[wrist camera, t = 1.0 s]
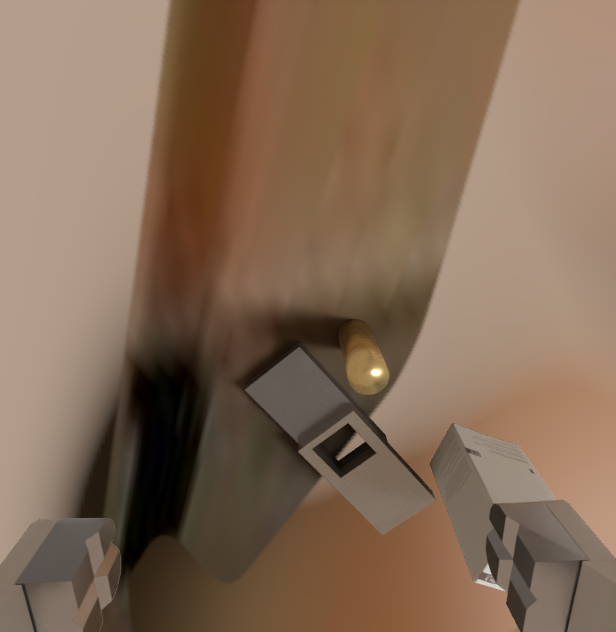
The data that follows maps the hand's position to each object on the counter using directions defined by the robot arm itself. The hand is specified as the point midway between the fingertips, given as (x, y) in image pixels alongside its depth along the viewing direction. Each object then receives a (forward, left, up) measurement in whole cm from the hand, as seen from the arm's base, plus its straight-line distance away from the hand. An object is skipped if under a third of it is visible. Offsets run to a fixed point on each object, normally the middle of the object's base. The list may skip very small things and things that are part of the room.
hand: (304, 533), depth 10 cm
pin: (+1, +10, -33) cm, 34 cm away
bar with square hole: (+9, +18, -33) cm, 38 cm away
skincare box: (0, +29, -33) cm, 44 cm away
